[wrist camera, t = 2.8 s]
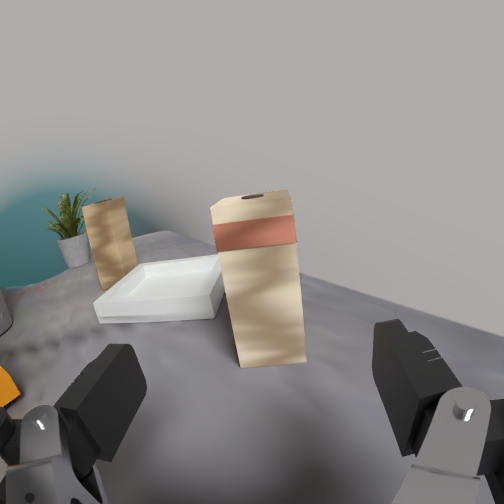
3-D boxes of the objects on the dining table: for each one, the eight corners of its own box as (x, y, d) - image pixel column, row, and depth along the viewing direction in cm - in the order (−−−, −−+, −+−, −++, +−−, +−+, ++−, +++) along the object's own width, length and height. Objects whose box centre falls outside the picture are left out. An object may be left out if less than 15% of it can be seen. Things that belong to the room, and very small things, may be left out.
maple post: (239, 368, 20) (208, 206, 17) (245, 334, 24) (222, 196, 21) (307, 362, 20) (291, 194, 16) (302, 328, 24) (287, 188, 21)
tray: (99, 323, 29) (92, 303, 29) (143, 279, 42) (139, 263, 41) (214, 318, 28) (209, 294, 27) (232, 270, 40) (229, 253, 40)
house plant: (126, 251, 62) (111, 176, 57) (82, 274, 49) (62, 186, 45) (85, 254, 66) (71, 188, 62) (43, 274, 54) (26, 199, 49)
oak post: (102, 289, 40) (81, 206, 36) (116, 278, 44) (98, 201, 41) (128, 287, 39) (107, 200, 36) (141, 276, 43) (123, 195, 40)
